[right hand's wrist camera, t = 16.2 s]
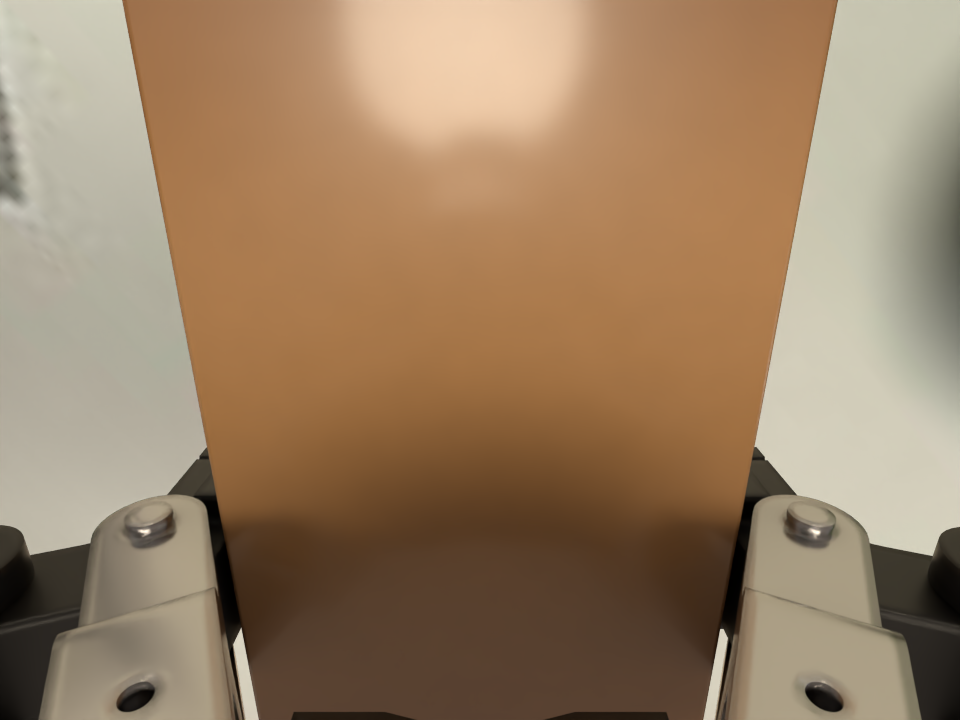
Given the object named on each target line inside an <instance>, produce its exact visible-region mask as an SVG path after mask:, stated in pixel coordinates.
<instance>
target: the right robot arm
mask: <svg viewBox="0 0 960 720" xmlns="http://www.w3.org/2000/svg"><path fill="white" fill-rule="evenodd" d="M240 629H241V622H240V617H239V612H238V607H237V601H236V596H235V591H234V586H233V580H232V575H231V570H230V565H229V559H228V554H227V549H226V543H225V538H224V533H223V528H222V522H221V517H220V512H219V507H218V501H217V496H216V491H215V486H214V480H213V475H212V470H211V464H210V459H209V454H208V449H207V448H206V449H205V450H204V451H203V453H202V454H201V455H200V459H197V460H196V461H195V462H194V463H193V465H192V466H191V467H190V468H189V469H188V471H187V472H186V473H185V474H184V475H183V477H182V478H181V479H180V480H179V481H178V483H177V484H176V485H175V486H174V487H173V489H172V490H171V491H170V492H169V493H168V494H167V495H164V496H157V497H152V498H148V499H144V500H141V501H138V502H135V503H132V504H130V505H128V506H126V507H123V508H122V509H120V510H118V511H116V512H114V513H113V514H111V515H110V516H108V517H107V518H106V519H105V520H104V521H102V522H101V523H100V524H99V526H98V527H97V528H96V529H95V531H94V533H93V535H92V538H91V543H90V544H85V545H81V546H76V547H70V548H65V549H60V550H55V551H50V552H45V553H40V554H34V555H30V554H29V551H28V548H27V545H26V542H25V539H24V536H23V534H22V533H21V532H20V531H19V530H18V529H16V528H13V527H10V526H4V525H0V720H245V714H244V707H243V701H242V694H241V688H240V681H239V675H238V668H237V662H236V656H235V651H234V646H233V644H234V641H235V639H236V637H237V635H238V633H239V631H240ZM720 629H724V631H725V633H726V635H727V637H728V641H727V646H726V651H725V656H724V662H723V668H722V675H721V681H720V688H719V694H718V701H717V707H716V714H715V720H960V527H957V528H951V529H949V530H946V531H945V532H943V533H942V534H941V535H940V537H939V540H938V543H937V545H936V548H935V551H934V554H933V556H929V555H924V554H919V553H914V552H908V551H903V550H898V549H893V548H888V547H883V546H879V545H874V544H870V543H869V538H868V535H867V533H866V531H865V529H864V528H863V527H862V526H861V524H860V523H859V522H858V521H856V520H855V519H854V518H853V517H852V516H850V515H849V514H847V513H846V512H844V511H842V510H840V509H838V508H837V507H834V506H832V505H830V504H828V503H825V502H822V501H819V500H816V499H812V498H808V497H803V496H797V495H796V493H795V492H794V491H793V490H792V489H791V488H790V486H789V485H788V484H787V483H786V482H785V480H784V479H783V478H782V477H781V476H780V475H779V473H778V472H777V471H776V470H775V469H774V467H773V466H772V465H771V464H770V463H769V461H768V460H765V457H764V456H763V454H762V453H761V452H760V451H759V450H758V448H757V447H754V451H753V456H752V461H751V467H750V472H749V477H748V483H747V488H746V493H745V499H744V504H743V509H742V515H741V520H740V525H739V531H738V536H737V541H736V547H735V552H734V557H733V563H732V568H731V574H730V579H729V584H728V590H727V595H726V600H725V606H724V611H723V616H722V622H721V627H720ZM291 720H415V719H411V718H407V717H403V716H400V715H396V714H392V713H388V712H293V715H292V718H291ZM545 720H669V718H668V715H667V712H572V713H568V714H564V715H560V716H557V717H553V718H549V719H545Z"/></svg>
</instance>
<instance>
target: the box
mask: <svg viewBox="0 0 960 720" xmlns="http://www.w3.org/2000/svg"><path fill="white" fill-rule="evenodd" d="M122 1H123V6H124V12H125V17H126V22H127V28H128V33H129V38H130V43H131V49H132V54H133V59H134V64H135V70H136V75H137V80H138V85H139V91H140V96H141V101H142V106H143V112H144V117H145V122H146V128H147V133H148V138H149V143H150V149H151V154H152V159H153V164H154V170H155V175H156V180H157V185H158V191H159V196H160V201H161V207H162V212H163V217H164V222H165V228H166V233H167V238H168V243H169V249H170V254H171V259H172V264H173V270H174V275H175V280H176V285H177V291H178V296H179V301H180V307H181V312H182V317H183V322H184V328H185V333H186V338H187V343H188V349H189V354H190V359H191V364H192V370H193V375H194V380H195V386H196V391H197V396H198V401H199V407H200V412H201V417H202V422H203V428H204V433H205V438H206V443H207V449H208V454H209V459H210V464H211V470H212V475H213V480H214V486H215V491H216V496H217V501H218V507H219V512H220V517H221V522H222V528H223V533H224V538H225V543H226V549H227V554H228V559H229V565H230V570H231V575H232V580H233V586H234V591H235V596H236V601H237V607H238V612H239V617H240V622H241V628H242V633H243V638H244V643H245V649H246V654H247V659H248V665H249V670H250V675H251V680H252V686H253V691H254V696H255V701H256V707H257V712H258V717H259V720H291V718H292V715H293V712H388V713H392V714H396V715H400V716H403V717H407V718H411V719H415V720H545V719H549V718H553V717H557V716H560V715H564V714H568V713H572V712H667V715H668V718H669V720H703V718H704V712H705V707H706V702H707V696H708V691H709V686H710V680H711V675H712V670H713V664H714V659H715V654H716V648H717V643H718V638H719V632H720V627H721V622H722V616H723V611H724V606H725V600H726V595H727V590H728V584H729V579H730V574H731V568H732V563H733V557H734V552H735V547H736V541H737V536H738V531H739V525H740V520H741V515H742V509H743V504H744V499H745V493H746V488H747V483H748V477H749V472H750V467H751V461H752V456H753V451H754V445H755V440H756V435H757V429H758V424H759V419H760V413H761V408H762V403H763V397H764V392H765V387H766V381H767V376H768V371H769V365H770V360H771V354H772V349H773V344H774V338H775V333H776V328H777V322H778V317H779V312H780V306H781V301H782V296H783V290H784V285H785V280H786V274H787V269H788V264H789V258H790V253H791V248H792V242H793V237H794V232H795V226H796V221H797V216H798V210H799V205H800V200H801V194H802V189H803V184H804V178H805V173H806V168H807V162H808V157H809V151H810V146H811V141H812V135H813V130H814V125H815V119H816V114H817V109H818V103H819V98H820V93H821V87H822V82H823V77H824V71H825V66H826V61H827V55H828V50H829V45H830V39H831V34H832V29H833V23H834V18H835V13H836V7H837V2H838V0H122Z"/></svg>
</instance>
